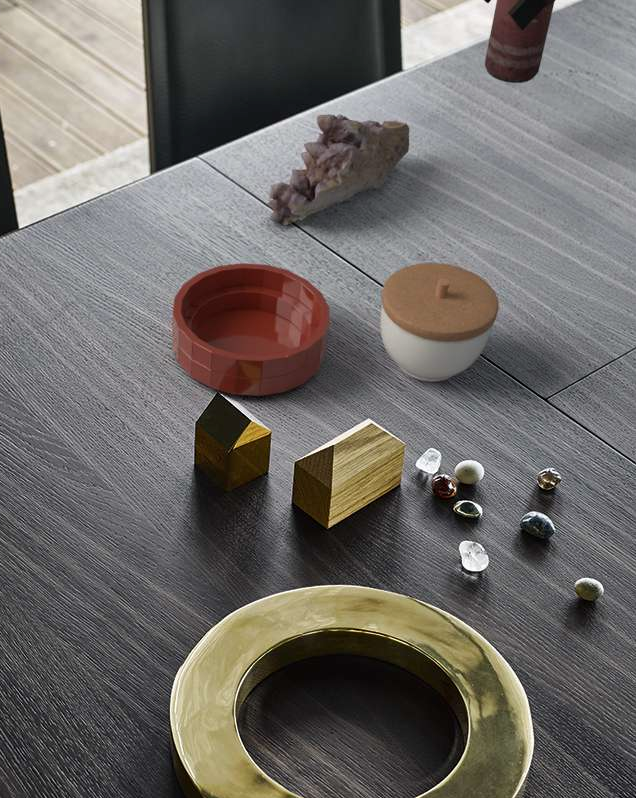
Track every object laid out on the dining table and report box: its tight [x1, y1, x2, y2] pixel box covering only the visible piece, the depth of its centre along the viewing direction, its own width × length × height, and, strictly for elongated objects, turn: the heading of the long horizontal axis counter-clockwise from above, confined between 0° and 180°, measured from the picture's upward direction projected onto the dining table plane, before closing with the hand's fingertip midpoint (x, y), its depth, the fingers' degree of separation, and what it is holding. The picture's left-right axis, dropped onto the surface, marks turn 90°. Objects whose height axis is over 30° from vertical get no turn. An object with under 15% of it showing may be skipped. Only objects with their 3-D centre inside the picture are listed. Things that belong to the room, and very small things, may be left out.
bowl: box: [171, 262, 331, 397], centre depth 119 cm, size 15×15×5 cm
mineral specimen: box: [267, 113, 411, 226], centre depth 138 cm, size 20×10×10 cm
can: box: [484, 0, 555, 84], centre depth 138 cm, size 6×6×14 cm
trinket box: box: [379, 262, 500, 383], centre depth 117 cm, size 11×11×9 cm
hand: (497, 7), depth 136 cm, fingers closed on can, 6 cm apart
